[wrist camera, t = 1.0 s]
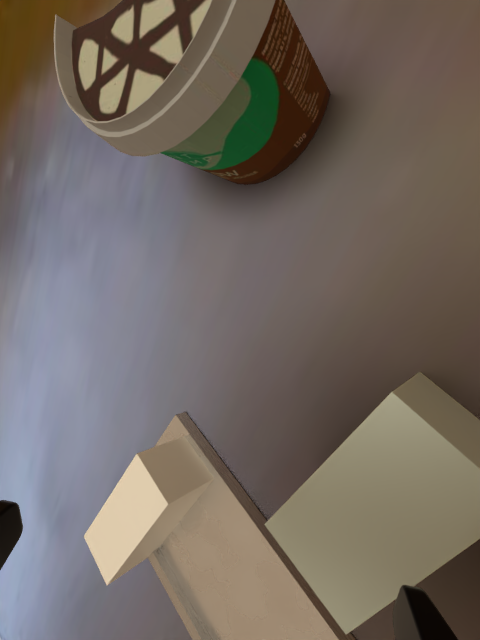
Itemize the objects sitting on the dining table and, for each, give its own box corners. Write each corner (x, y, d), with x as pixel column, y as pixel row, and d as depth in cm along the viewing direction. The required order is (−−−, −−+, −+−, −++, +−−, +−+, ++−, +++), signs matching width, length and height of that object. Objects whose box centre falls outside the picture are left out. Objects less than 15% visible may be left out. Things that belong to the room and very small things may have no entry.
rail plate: (482, 809, 15) (481, 854, 14) (339, 859, 19) (328, 898, 18) (185, 411, 26) (169, 416, 24) (130, 493, 29) (113, 501, 28)
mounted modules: (440, 795, 15) (427, 923, 12) (317, 843, 19) (280, 954, 15) (184, 436, 24) (136, 453, 21) (131, 511, 28) (83, 536, 24)
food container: (177, 200, 26) (36, 146, 18) (190, 114, 26) (49, 17, 17) (332, 206, 19) (216, 122, 11) (357, 88, 19) (252, -95, 10)
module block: (512, 445, 15) (523, 507, 10) (385, 548, 18) (346, 634, 13) (420, 371, 17) (391, 391, 12) (320, 474, 20) (264, 524, 15)
